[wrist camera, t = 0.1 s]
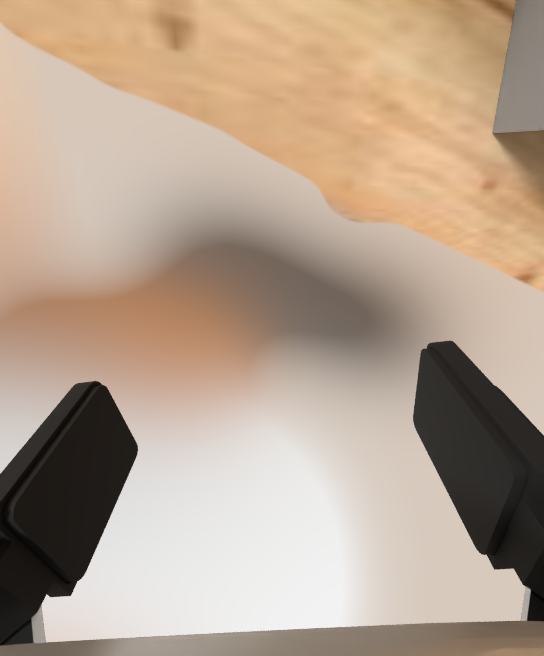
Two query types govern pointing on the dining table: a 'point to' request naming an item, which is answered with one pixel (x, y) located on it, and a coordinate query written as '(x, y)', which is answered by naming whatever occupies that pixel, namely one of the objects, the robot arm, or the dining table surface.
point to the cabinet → (523, 72)
